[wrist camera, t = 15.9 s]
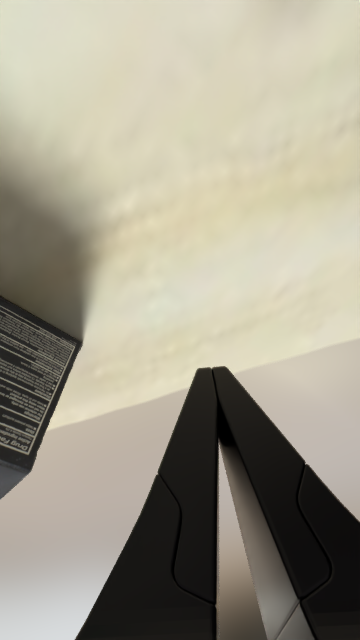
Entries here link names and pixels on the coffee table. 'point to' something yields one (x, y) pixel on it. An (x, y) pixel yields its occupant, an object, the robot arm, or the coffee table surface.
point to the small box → (28, 387)
